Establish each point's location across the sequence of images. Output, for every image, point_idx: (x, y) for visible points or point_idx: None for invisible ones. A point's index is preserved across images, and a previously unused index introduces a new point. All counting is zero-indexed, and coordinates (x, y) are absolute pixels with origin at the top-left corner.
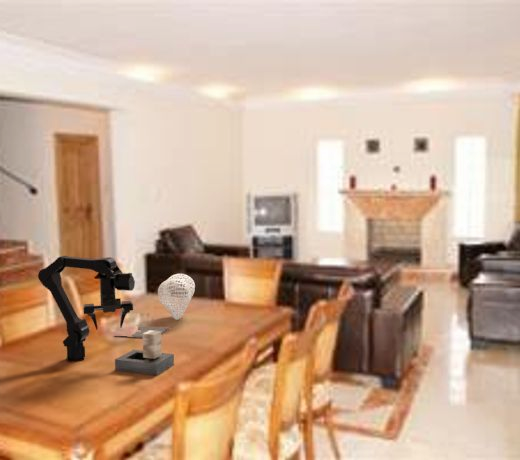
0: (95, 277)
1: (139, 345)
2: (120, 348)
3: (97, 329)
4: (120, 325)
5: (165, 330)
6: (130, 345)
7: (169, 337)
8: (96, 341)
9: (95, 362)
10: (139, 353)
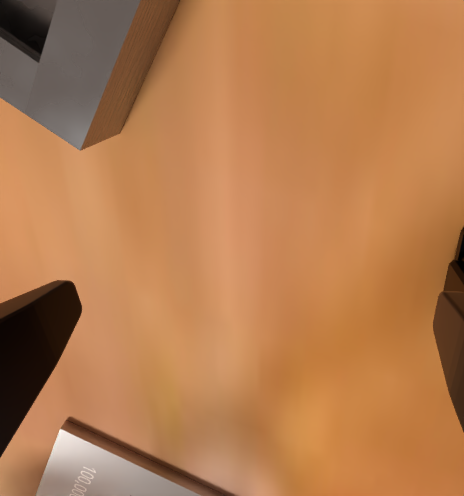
0: None
1: (124, 369)
2: (215, 361)
3: (442, 294)
4: (45, 297)
5: (41, 480)
6: (167, 384)
7: None
8: (331, 485)
9: (386, 152)
10: (19, 45)
